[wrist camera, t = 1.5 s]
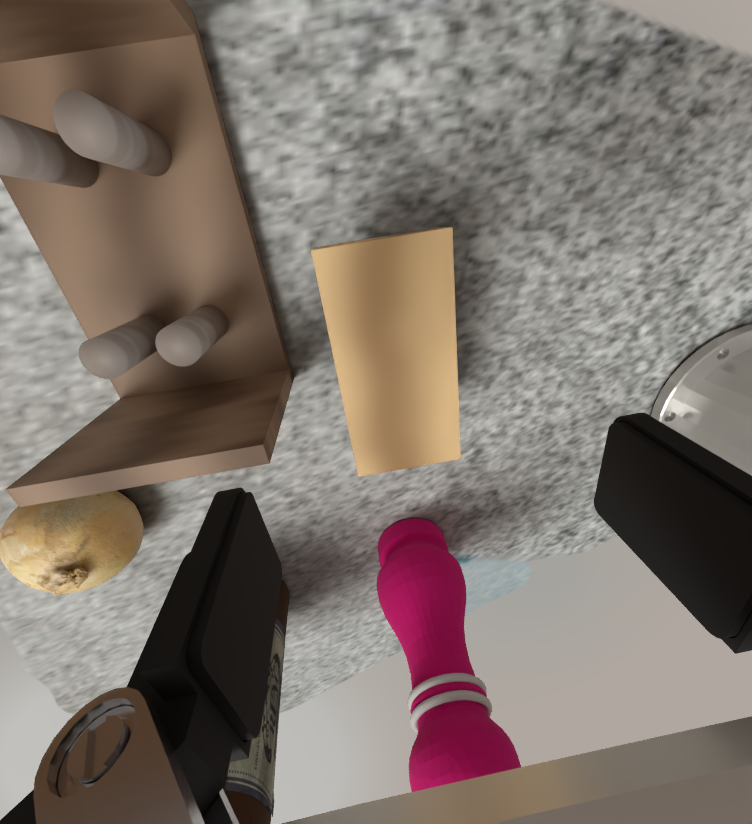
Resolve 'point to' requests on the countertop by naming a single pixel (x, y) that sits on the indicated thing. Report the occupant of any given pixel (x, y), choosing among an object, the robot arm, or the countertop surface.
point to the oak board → (394, 346)
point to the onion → (71, 541)
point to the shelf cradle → (140, 242)
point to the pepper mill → (438, 659)
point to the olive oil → (261, 740)
